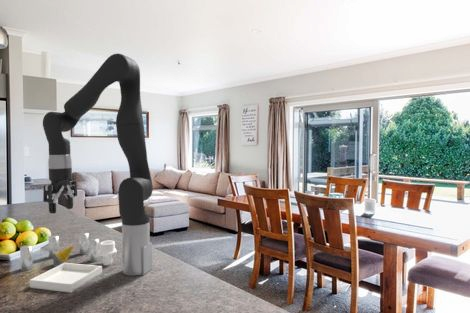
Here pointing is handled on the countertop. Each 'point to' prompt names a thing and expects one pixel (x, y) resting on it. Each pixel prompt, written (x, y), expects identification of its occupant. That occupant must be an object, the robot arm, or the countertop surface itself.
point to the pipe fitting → (107, 251)
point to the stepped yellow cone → (62, 256)
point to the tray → (66, 277)
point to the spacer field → (84, 248)
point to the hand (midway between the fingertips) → (61, 210)
